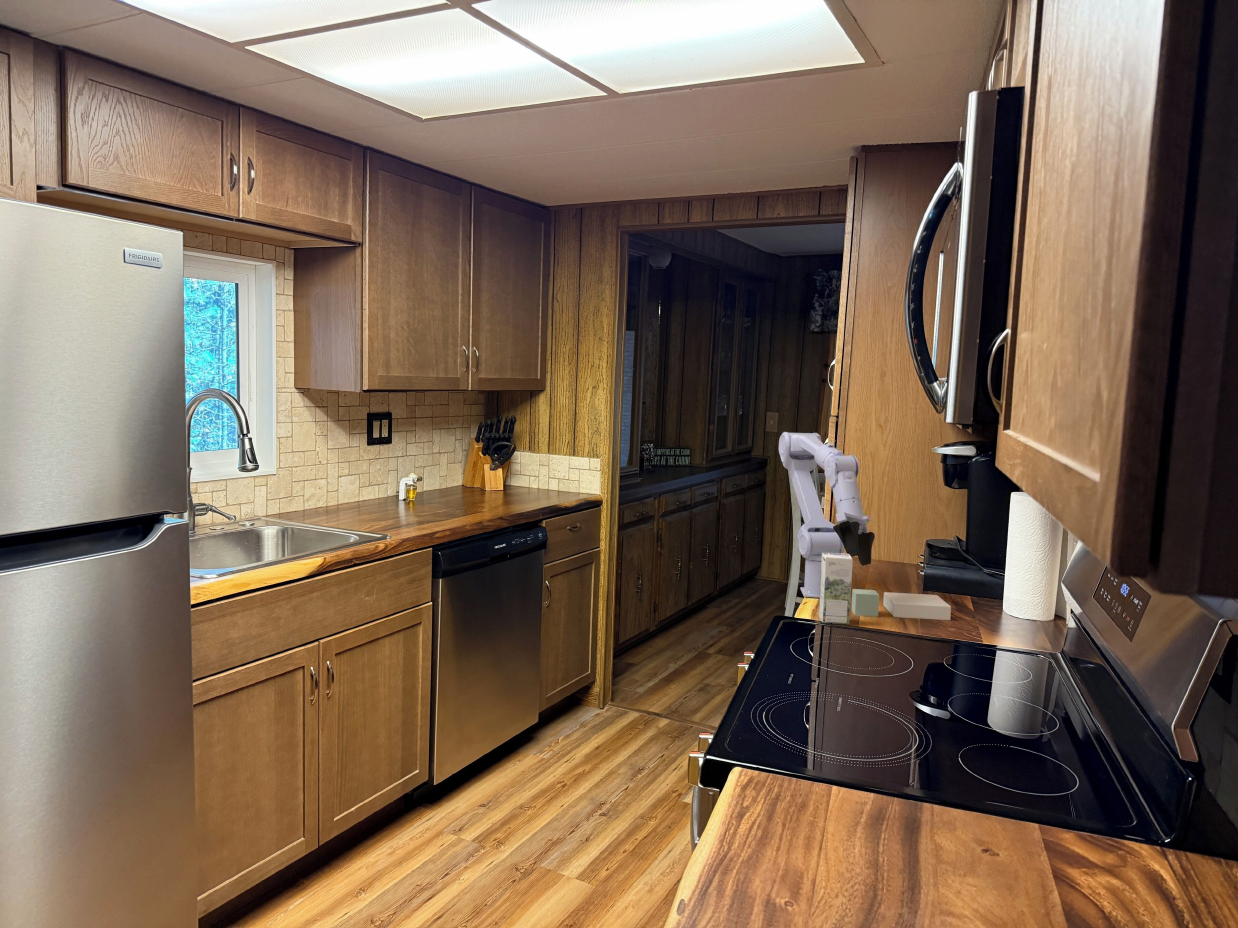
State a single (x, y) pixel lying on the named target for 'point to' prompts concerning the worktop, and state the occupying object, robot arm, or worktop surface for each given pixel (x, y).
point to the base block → (916, 606)
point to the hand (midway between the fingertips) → (859, 560)
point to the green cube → (865, 602)
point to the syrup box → (835, 588)
